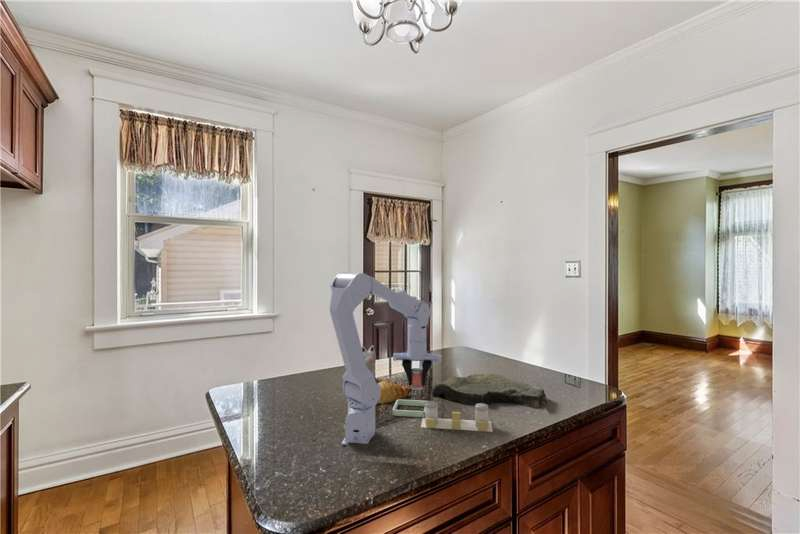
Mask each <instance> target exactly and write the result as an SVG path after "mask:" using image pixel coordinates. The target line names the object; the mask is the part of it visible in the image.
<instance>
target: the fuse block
mask: <svg viewBox="0 0 800 534" xmlns="http://www.w3.org/2000/svg"><path fill="white" fill-rule="evenodd" d="M461 417H462V416H461V411H451V418H441V417H440V418H439V417H438V424H437V425H435V418H426V424H425V417H422V419H421V423H420V424H421V425H420V428H427V429H441V430H442V429H443V430H456V431H457V430H458V431H459V430H460V431H461V430H462V431H472V432H473V431H474V432H475V431H476V432H491V433H493V432H494V431H493V424H492V421H490V420H488V428H487V421H478V428H477V427H476V426H475V420H472V419H461Z"/></svg>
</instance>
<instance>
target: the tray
mask: <svg viewBox="0 0 800 534" xmlns="http://www.w3.org/2000/svg"><path fill="white" fill-rule="evenodd" d="M427 401H428V400H419V399H417V400H416V399H402V398H401V399H397V400H395V402H394V405H393V407H392V409H391V416H396V417H397V416H398V417H410V418H411V417H413V418H414V417H415V418H423V417H424V418H425V402H427ZM398 406H414V407H424V408H423V410H408V409H407V410H406V409H398Z"/></svg>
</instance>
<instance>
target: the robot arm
mask: <svg viewBox="0 0 800 534" xmlns="http://www.w3.org/2000/svg"><path fill="white" fill-rule="evenodd" d="M330 289H331V297H330V304H329V313H330V316H331V320H332V324H333V327H334V331H335V335H336V339H337V343H338V345H339V349H340V353H341V357H342V362H343V364H344V367H345V373H344V374H343V375H341V376H342V382H343V384H342V392H343V395H344V396H345V397H346V400H347V401H346V403H347V415H346V418H345V420H344V421H345V422H344V436H345V437H344V438H343V440H342V441H341V445H342V446H348V444H349V443H351V444H352V443H353V444H354V443H355V444H364V445H365V444H366V445H367V444H369V443H370V440H371V439H372V438H373V437H374V436H375V434H376V406H377V404H376V403H377V402H378V400H379V398H380V395H381V389H380V386H379V385H378V384H377V381H376V379H375V375H374V376H373V374H372V373H371V372H370V371H369V370H368V368H367V366H366V363H365V359H364V355H363V351H362V343H361V340H360V335H359V331H358V328H357V324H356V321H355V316H354V311H355V309H356V308H357V307H358V306H359V305H360V304H362V302H363V301H364V300H365V299H366V298H367V297H368V296H370V295H374V296H375V297H377V298H380V299H383V301H384V300H385V301H387V302H388V305H389V307H390V308H391V309H393V310H395V311H397V312H399V313H401V314H402V315H403V316H404V318H406V319H407V352H394V353H393V354H392V361H394V362H396V361H401V362H402V363H401V366H402V368H403V370H404V372H405V375H406V377H407V380H408V386H411V369H413V362H422V364H421V366H422V367H421V368H422V369H423V381H422V386H423V387H425V386H426V380H427V376H428V373H429V371H430V369H431V366H432V363H442V354H439V353H437V354H436V353H428V352H427V326H428V323H429V318H430V316H431V313H432V310H431V309H430V306H429V305H428V303H427V302H426V301H422V300H418V298H417V297H416V296H411V295H410V294H408V293H407V292H408V291H407V290H405V289H397V290H393V289H391V288H390V287H389V286H386V285H385V284H383V283H381V282H380V281H379V280H378V279H375V277H373V276H371V275H368V274H367V273H362V272H360V273H354V272H353V273H352V272H350V273H348V272H339V273H337V275H335V277H334V278H333V280H332V282H331V283H330Z"/></svg>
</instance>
